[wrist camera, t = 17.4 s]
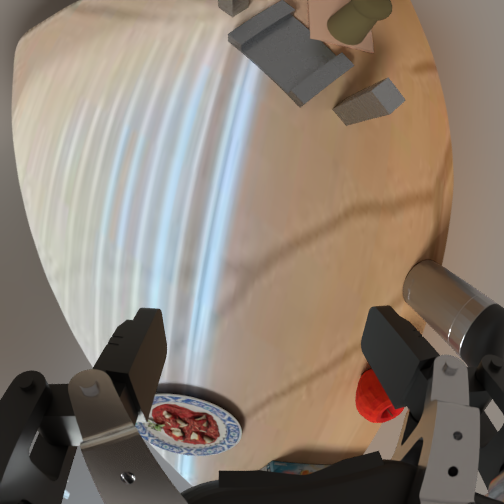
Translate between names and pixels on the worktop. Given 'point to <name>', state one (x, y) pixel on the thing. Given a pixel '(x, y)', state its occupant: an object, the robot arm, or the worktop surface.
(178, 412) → the ceramic plate
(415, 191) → the worktop surface
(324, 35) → the tile
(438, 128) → the worktop surface
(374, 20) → the cork
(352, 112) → the grey u-shaped stand
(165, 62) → the worktop surface
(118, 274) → the worktop surface
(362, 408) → the apple
